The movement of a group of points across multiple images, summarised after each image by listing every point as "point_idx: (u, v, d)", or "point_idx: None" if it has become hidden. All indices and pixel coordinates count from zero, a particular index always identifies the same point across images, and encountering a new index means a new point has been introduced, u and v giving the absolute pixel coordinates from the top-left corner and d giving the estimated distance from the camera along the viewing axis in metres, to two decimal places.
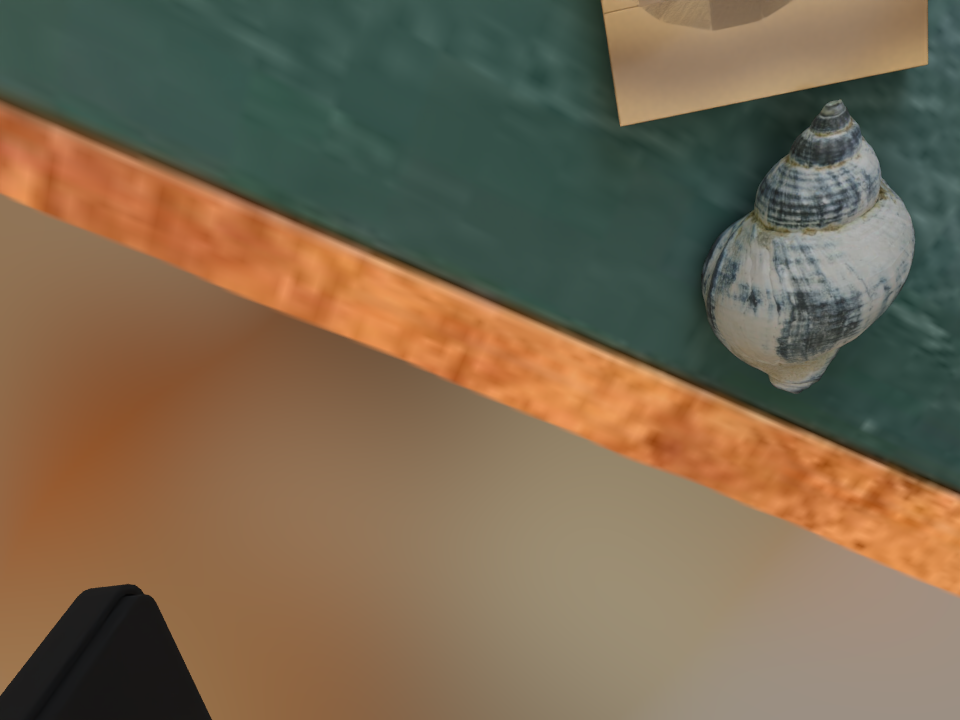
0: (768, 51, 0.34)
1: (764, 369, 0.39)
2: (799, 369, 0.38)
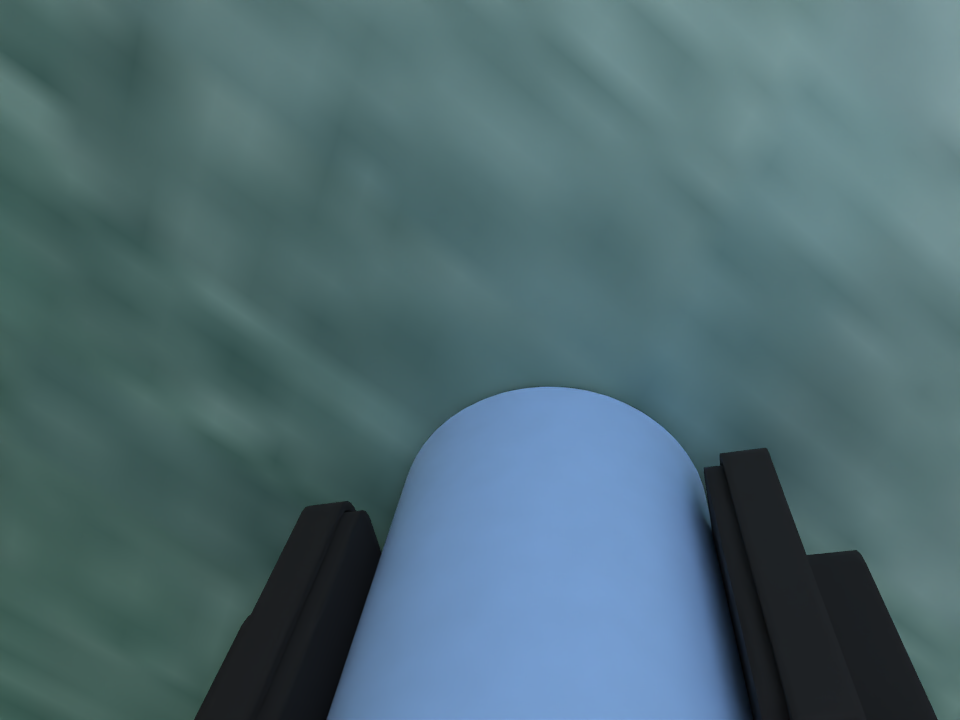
0: None
1: None
2: None
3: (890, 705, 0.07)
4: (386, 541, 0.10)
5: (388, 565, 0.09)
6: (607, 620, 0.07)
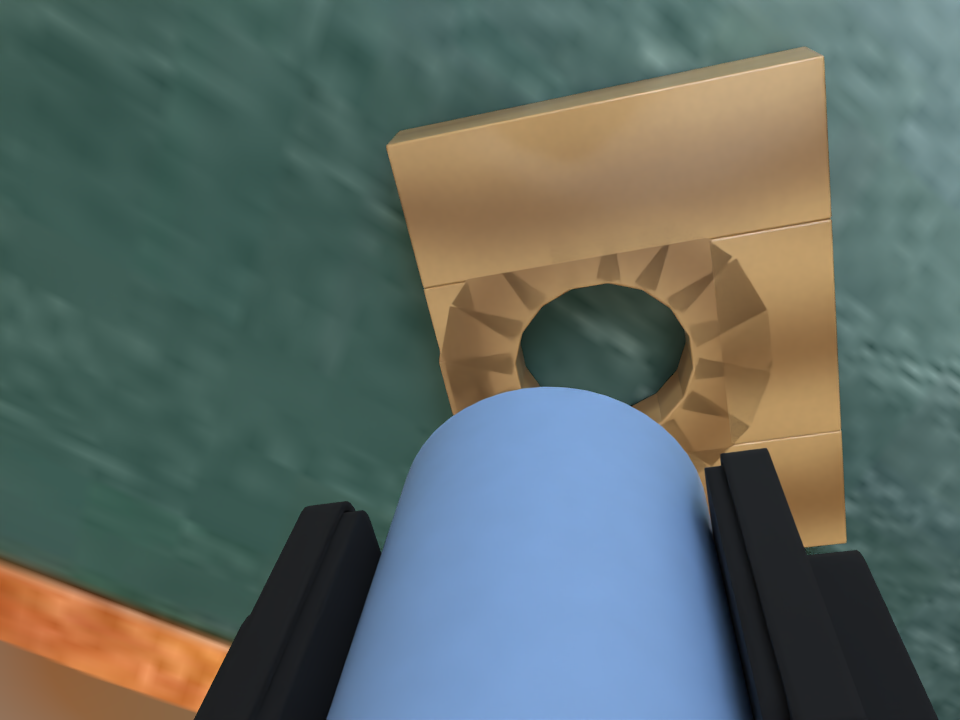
0: None
1: None
2: None
3: (891, 705, 0.07)
4: (386, 541, 0.10)
5: (388, 565, 0.09)
6: (607, 620, 0.07)
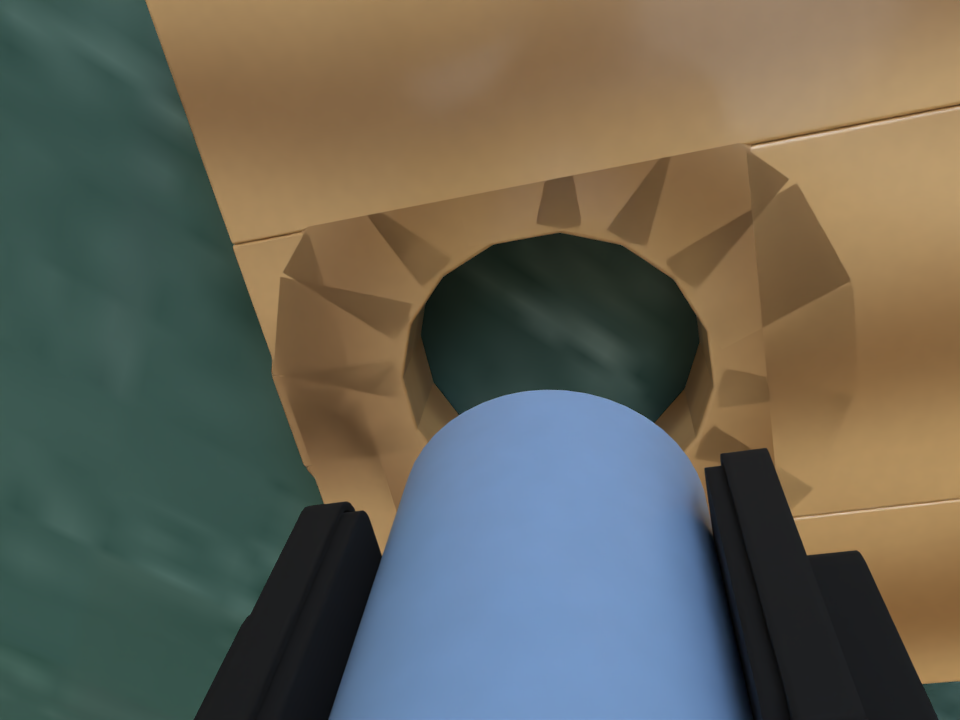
0: None
1: None
2: None
3: (891, 705, 0.07)
4: (387, 544, 0.10)
5: (389, 569, 0.09)
6: (608, 623, 0.07)
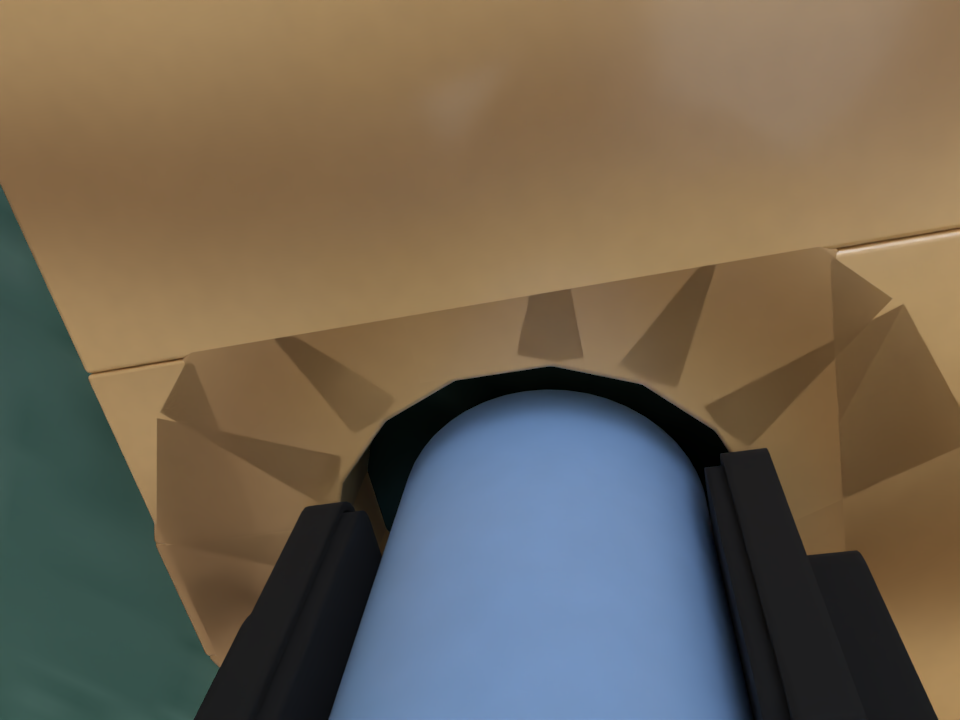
0: None
1: None
2: None
3: (891, 705, 0.07)
4: (387, 544, 0.10)
5: (389, 568, 0.09)
6: (608, 624, 0.07)
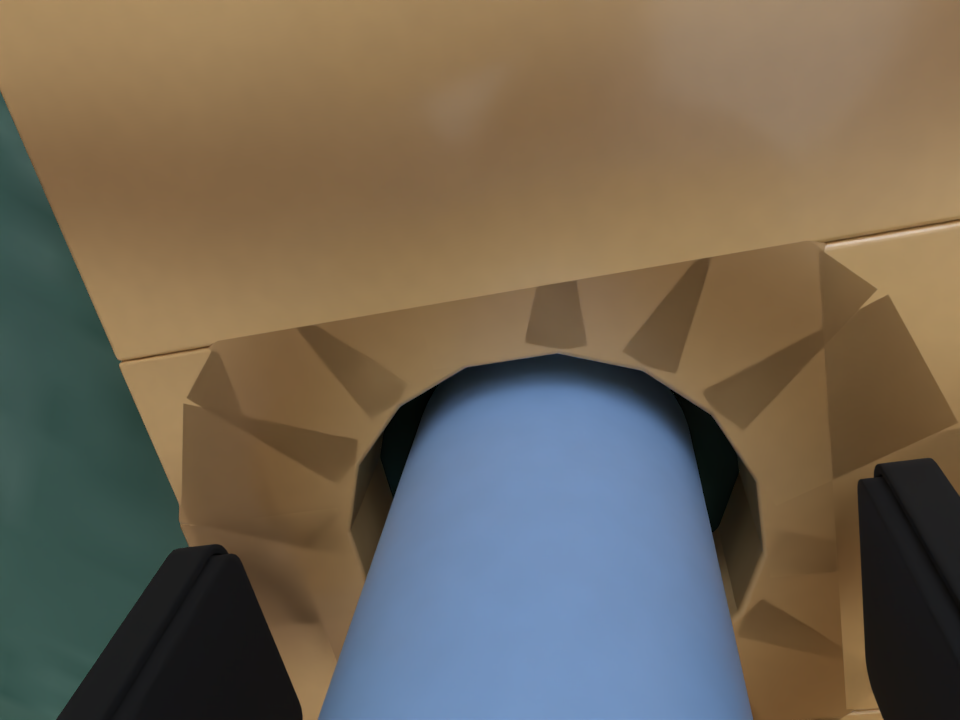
0: None
1: None
2: None
3: None
4: (405, 467, 0.11)
5: (408, 480, 0.10)
6: (599, 507, 0.09)
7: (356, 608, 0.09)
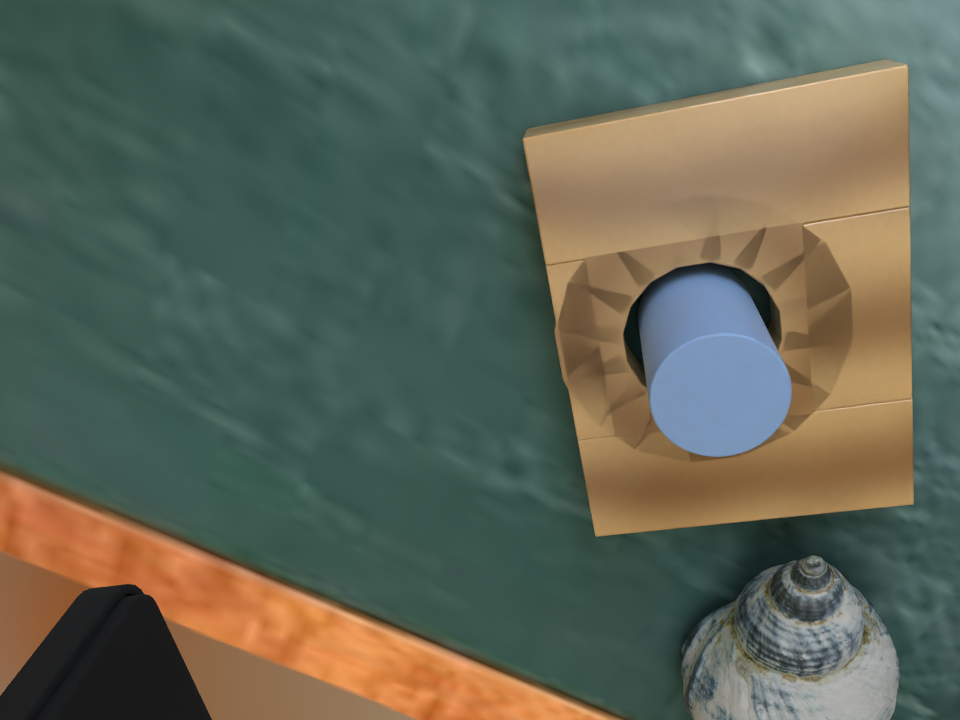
0: (748, 483, 0.33)
1: None
2: None
3: None
4: (646, 308, 0.30)
5: (656, 306, 0.29)
6: (732, 303, 0.27)
7: (650, 339, 0.28)
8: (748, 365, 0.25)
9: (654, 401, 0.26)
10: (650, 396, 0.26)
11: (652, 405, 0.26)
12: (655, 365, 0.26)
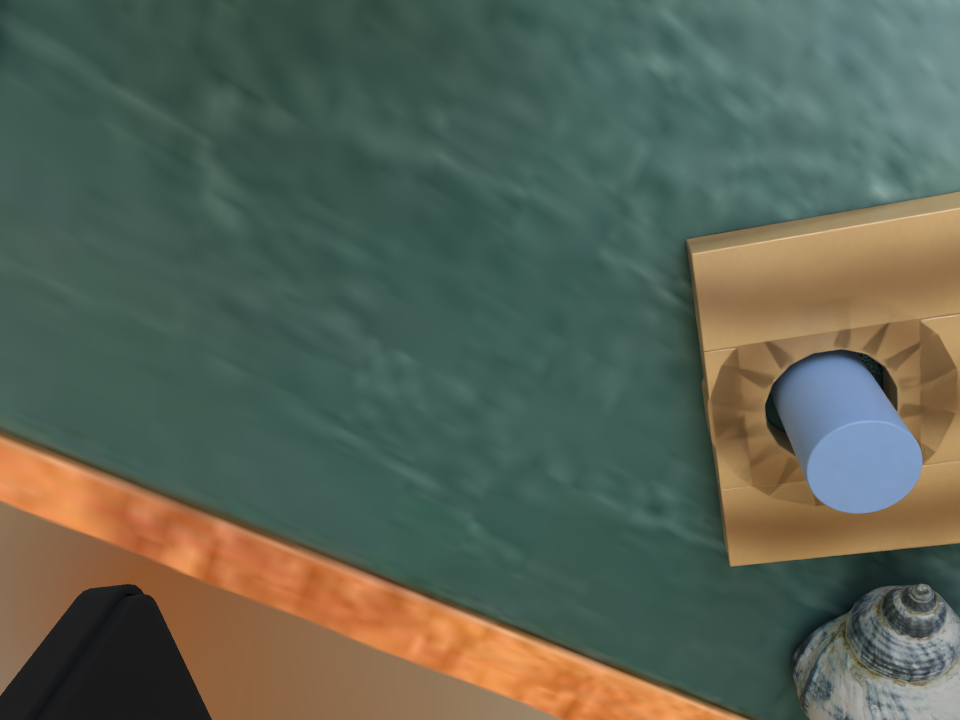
0: (863, 522, 0.39)
1: None
2: None
3: None
4: (785, 384, 0.37)
5: (797, 386, 0.36)
6: (866, 387, 0.34)
7: (798, 416, 0.35)
8: (889, 444, 0.32)
9: (810, 471, 0.33)
10: (807, 467, 0.33)
11: (808, 474, 0.33)
12: (811, 443, 0.33)
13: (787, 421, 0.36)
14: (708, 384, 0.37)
